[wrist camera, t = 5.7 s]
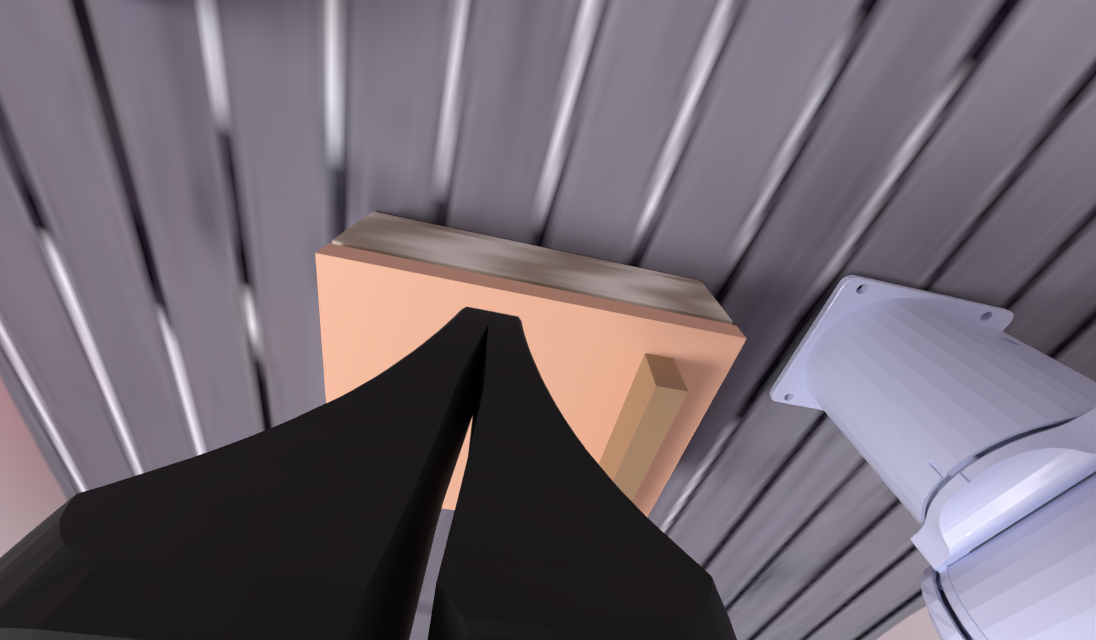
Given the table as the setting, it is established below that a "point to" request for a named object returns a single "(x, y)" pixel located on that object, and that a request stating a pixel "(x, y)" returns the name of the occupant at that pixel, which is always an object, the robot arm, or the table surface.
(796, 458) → the table surface
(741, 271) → the table surface
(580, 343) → the sliding lid
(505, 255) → the storage case
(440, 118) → the table surface
